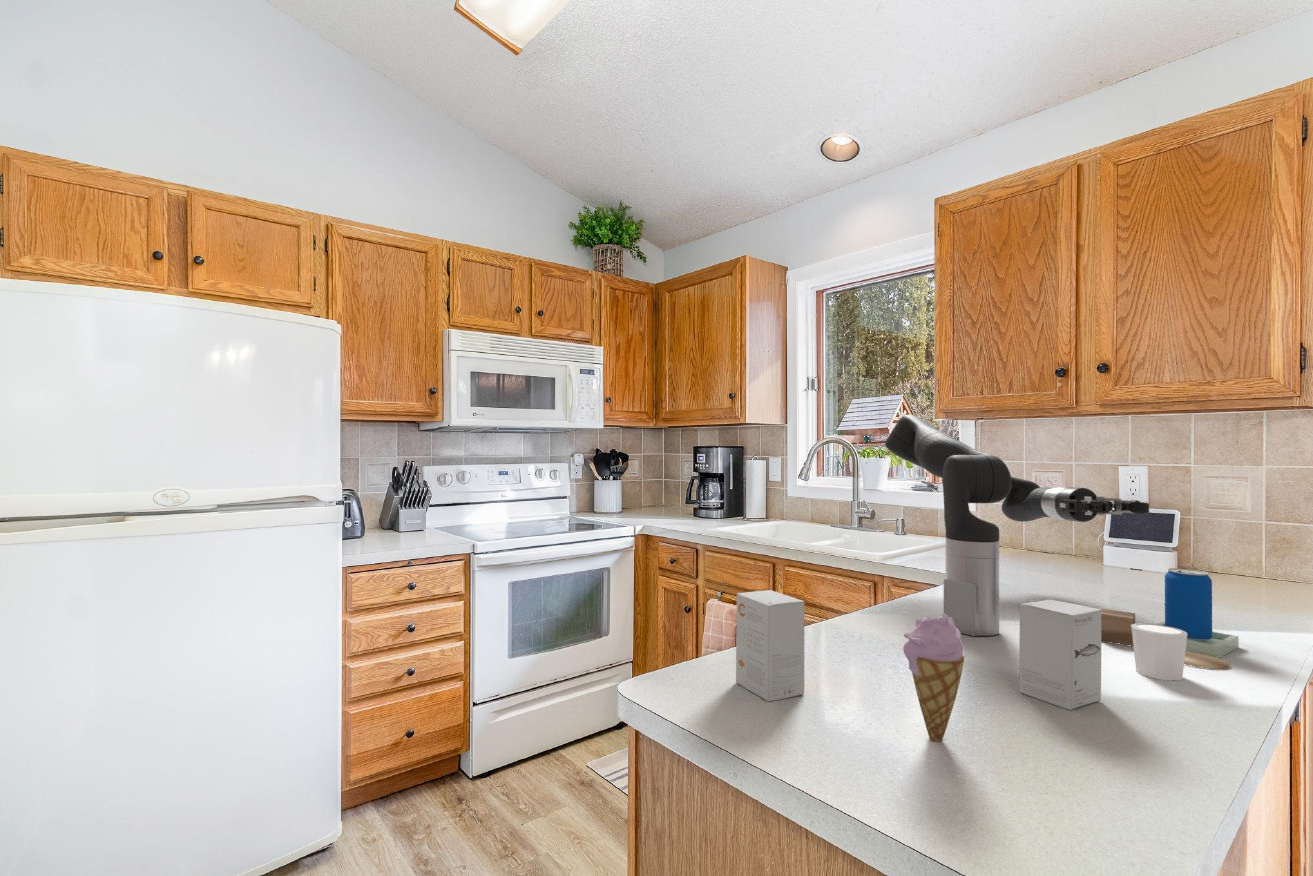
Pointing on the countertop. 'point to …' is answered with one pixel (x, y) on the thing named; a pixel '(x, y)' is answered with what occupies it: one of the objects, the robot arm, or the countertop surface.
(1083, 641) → the supplement box
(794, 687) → the small box
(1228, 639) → the tray
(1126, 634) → the walnut block
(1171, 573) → the beverage can
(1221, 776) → the countertop surface
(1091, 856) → the countertop surface
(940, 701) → the ice cream cone
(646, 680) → the countertop surface
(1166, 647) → the white cup
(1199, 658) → the cork coaster
